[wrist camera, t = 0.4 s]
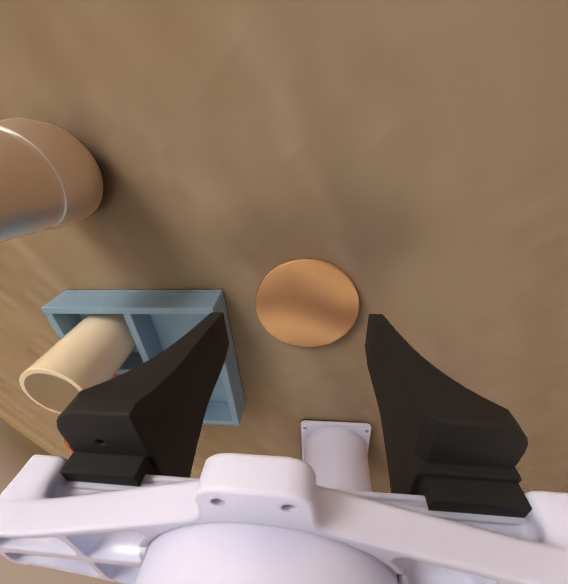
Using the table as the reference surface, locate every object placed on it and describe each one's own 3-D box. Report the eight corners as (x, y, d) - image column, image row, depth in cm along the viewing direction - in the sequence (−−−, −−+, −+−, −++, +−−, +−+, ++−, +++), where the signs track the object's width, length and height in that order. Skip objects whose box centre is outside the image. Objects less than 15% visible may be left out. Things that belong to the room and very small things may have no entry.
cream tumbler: (149, 347, 30) (99, 417, 23) (102, 346, 30) (40, 414, 24) (132, 305, 27) (70, 370, 20) (81, 305, 28) (4, 368, 21)
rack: (245, 402, 34) (239, 425, 31) (121, 397, 35) (107, 419, 33) (222, 289, 26) (212, 307, 23) (65, 289, 27) (40, 307, 25)
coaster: (355, 344, 28) (355, 348, 27) (261, 342, 29) (260, 346, 28) (362, 257, 23) (363, 260, 23) (250, 259, 24) (249, 262, 24)
